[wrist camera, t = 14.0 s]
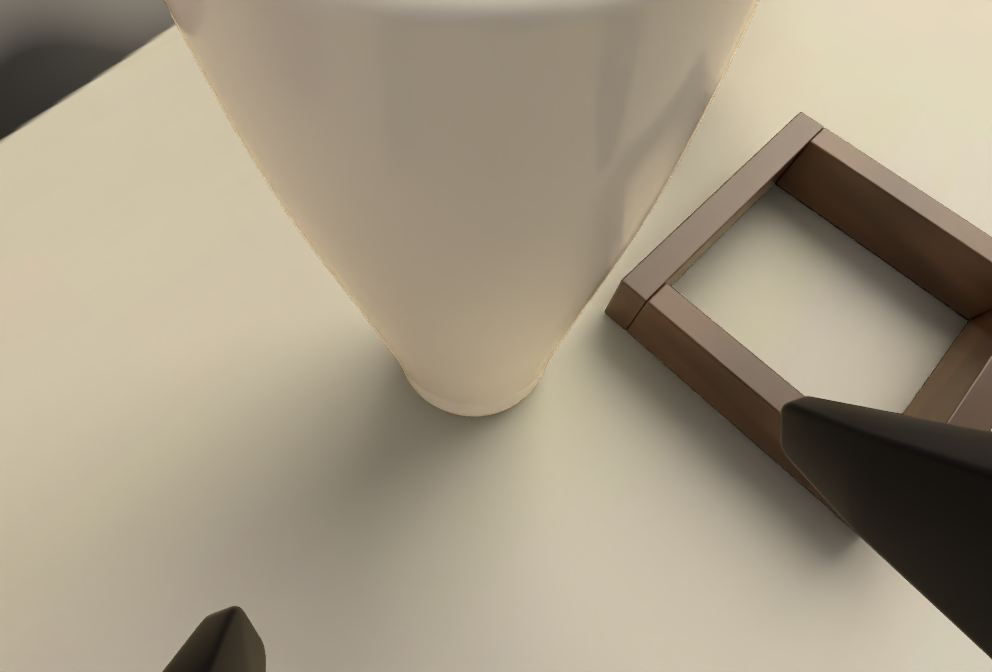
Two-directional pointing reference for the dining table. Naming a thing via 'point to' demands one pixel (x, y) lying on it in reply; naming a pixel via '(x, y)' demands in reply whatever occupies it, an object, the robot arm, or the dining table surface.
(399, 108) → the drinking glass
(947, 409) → the holder
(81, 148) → the dining table surface
